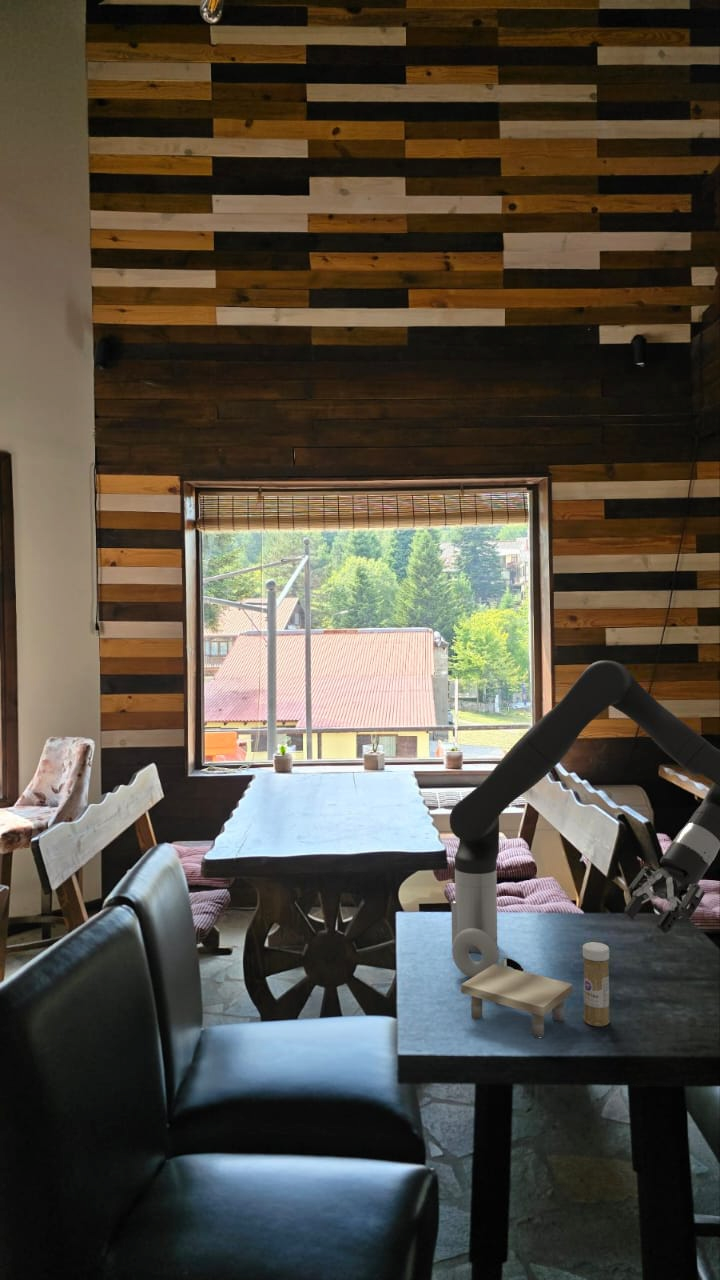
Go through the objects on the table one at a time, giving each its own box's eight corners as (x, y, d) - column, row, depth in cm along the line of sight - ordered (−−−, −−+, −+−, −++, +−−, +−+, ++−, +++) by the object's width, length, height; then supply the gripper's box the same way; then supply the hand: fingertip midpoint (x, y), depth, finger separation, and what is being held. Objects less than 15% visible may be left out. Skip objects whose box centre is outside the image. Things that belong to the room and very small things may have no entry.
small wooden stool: (461, 1018, 150) (461, 984, 150) (494, 995, 159) (493, 964, 159) (543, 1043, 140) (543, 1007, 140) (573, 1017, 149) (572, 984, 149)
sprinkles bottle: (578, 1021, 148) (577, 945, 148) (592, 1013, 151) (591, 939, 151) (601, 1030, 144) (600, 952, 144) (615, 1021, 147) (614, 945, 147)
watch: (497, 968, 173) (496, 951, 173) (519, 968, 173) (519, 951, 173) (503, 983, 165) (503, 965, 165) (527, 983, 165) (526, 965, 165)
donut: (502, 980, 166) (501, 930, 166) (495, 986, 163) (494, 935, 163) (456, 970, 171) (456, 922, 171) (449, 976, 168) (448, 927, 169)
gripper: (652, 833, 162) (606, 900, 157) (709, 849, 149) (660, 922, 144) (673, 857, 164) (628, 924, 159) (731, 875, 151) (684, 948, 146)
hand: (643, 923), depth 152 cm, fingers open, 8 cm apart
